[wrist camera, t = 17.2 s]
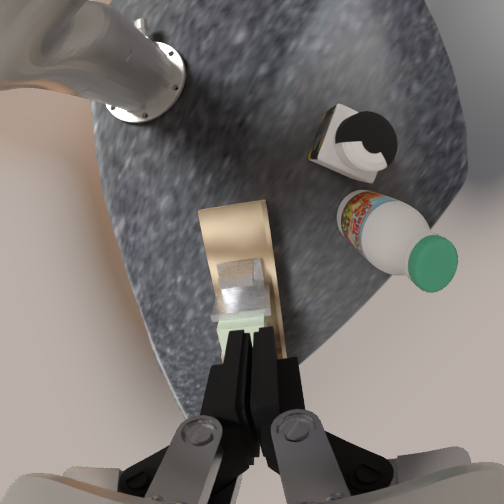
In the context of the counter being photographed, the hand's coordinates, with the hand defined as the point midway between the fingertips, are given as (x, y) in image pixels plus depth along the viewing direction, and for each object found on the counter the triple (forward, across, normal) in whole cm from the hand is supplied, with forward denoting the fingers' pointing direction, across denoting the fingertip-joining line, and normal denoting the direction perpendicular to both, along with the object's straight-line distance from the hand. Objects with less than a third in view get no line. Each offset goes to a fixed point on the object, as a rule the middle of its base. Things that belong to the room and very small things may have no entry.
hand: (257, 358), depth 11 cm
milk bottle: (+29, -14, +2) cm, 33 cm away
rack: (+29, +4, +10) cm, 31 cm away
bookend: (+28, +4, +8) cm, 29 cm away
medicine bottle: (+29, -12, -8) cm, 33 cm away
